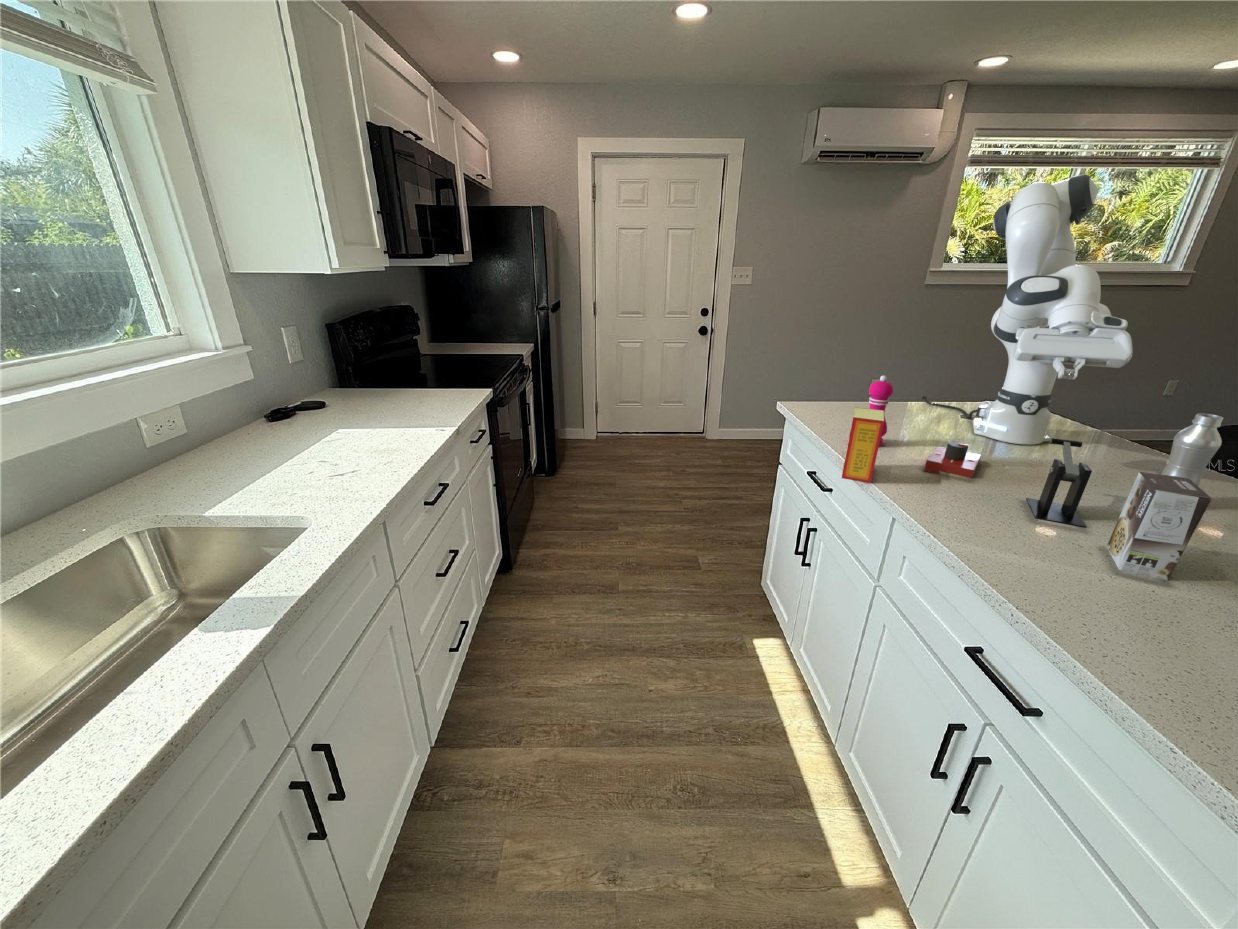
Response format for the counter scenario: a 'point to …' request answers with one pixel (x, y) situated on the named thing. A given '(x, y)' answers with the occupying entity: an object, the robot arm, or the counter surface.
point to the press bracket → (1067, 510)
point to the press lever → (1068, 459)
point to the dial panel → (952, 463)
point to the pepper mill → (880, 398)
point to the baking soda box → (863, 444)
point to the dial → (956, 450)
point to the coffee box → (1156, 524)
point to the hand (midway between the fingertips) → (1067, 377)
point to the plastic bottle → (1194, 448)
